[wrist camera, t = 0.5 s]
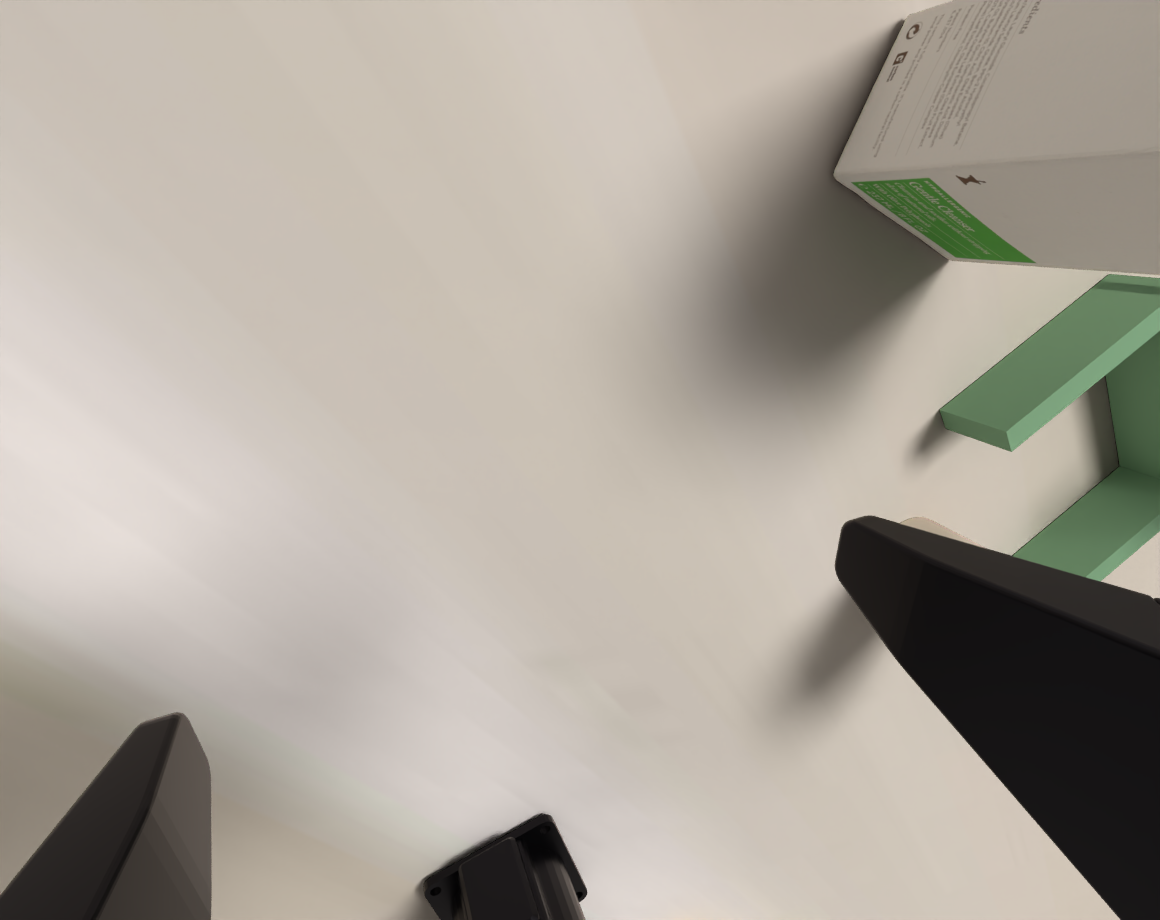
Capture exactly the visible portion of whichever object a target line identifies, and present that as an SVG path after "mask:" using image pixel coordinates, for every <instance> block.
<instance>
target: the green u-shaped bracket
mask: <svg viewBox="0 0 1160 920" xmlns="http://www.w3.org/2000/svg"><path fill="white" fill-rule="evenodd" d="M1104 376H1106V382H1107V388H1108V395H1109V401H1110V407H1111V414H1112V420H1113V426H1114V433H1115V439H1116V445H1117V452H1118V458H1119V464H1120V466H1119V467H1118V468H1117V469H1116V470H1115V471H1113V472H1112V473H1111V474H1110V475H1109V476H1107V477H1106V478H1105V479H1104V480H1103V481H1101V482H1100V483H1099V484H1098V485H1097V486H1095V487H1094V488H1093V489H1092V490H1091V491H1089V492H1088V493H1087V494H1086V495H1085V496H1084V497H1082V498H1081V499H1080V500H1079V501H1078V502H1076V503H1075V504H1074V505H1073V506H1072V507H1070V508H1069V509H1068V510H1067V511H1066V512H1064V513H1063V514H1062V515H1061V516H1060V517H1058V518H1057V519H1056V520H1055V521H1054V522H1052V523H1051V524H1050V525H1049V526H1048V527H1046V528H1045V529H1044V530H1043V531H1042V532H1040V533H1039V534H1038V535H1037V536H1036V537H1034V538H1033V539H1032V540H1031V541H1030V542H1028V543H1027V544H1026V545H1025V546H1024V547H1022V548H1021V549H1020V550H1019V551H1018V552H1016V553H1015V554H1014V555H1013V556H1014V557H1017V558H1021V559H1024V560H1028V561H1031V562H1035V563H1038V564H1042V565H1045V566H1048V567H1052V568H1055V569H1059V570H1062V571H1066V572H1069V573H1073V574H1076V575H1080V576H1083V577H1086V578H1090V579H1093V580H1097V581H1102V580H1103V579H1104V578H1105V577H1106V576H1107V575H1109V574H1110V573H1111V572H1112V571H1113V570H1114V569H1116V568H1117V567H1118V566H1119V565H1120V564H1122V563H1123V562H1124V561H1125V560H1126V559H1127V558H1129V557H1130V556H1131V555H1132V554H1133V553H1134V552H1136V551H1137V550H1138V549H1139V548H1140V547H1141V546H1143V545H1144V544H1145V543H1146V542H1147V541H1149V540H1150V539H1151V538H1152V537H1153V536H1154V535H1156V534H1157V533H1158V532H1159V531H1160V278H1151V277H1139V276H1127V275H1115V274H1109V275H1108V276H1106V277H1105V278H1104V279H1103V280H1101V281H1100V282H1099V283H1098V284H1096V285H1095V286H1094V287H1093V288H1091V289H1090V290H1089V291H1088V292H1086V293H1085V294H1084V295H1083V296H1081V297H1080V298H1079V299H1078V300H1076V301H1075V302H1074V303H1073V304H1071V305H1070V306H1069V307H1068V308H1066V309H1065V310H1064V311H1063V312H1061V313H1060V314H1059V315H1058V316H1056V317H1055V318H1054V319H1053V320H1051V321H1050V322H1049V323H1048V324H1046V325H1045V326H1044V327H1043V328H1041V329H1040V330H1039V331H1038V332H1036V333H1035V334H1034V335H1033V336H1031V337H1030V338H1029V339H1028V340H1026V341H1025V342H1024V343H1023V344H1021V345H1020V346H1019V347H1018V348H1016V349H1015V350H1014V351H1013V352H1011V353H1010V354H1009V355H1008V356H1006V357H1005V358H1004V359H1003V360H1001V361H1000V362H999V363H998V364H996V365H995V366H994V367H993V368H991V369H990V370H989V371H988V372H986V373H985V374H984V375H983V376H981V377H980V378H979V379H978V380H976V381H975V382H974V383H973V384H971V385H970V386H969V387H968V388H966V389H965V390H964V391H963V392H961V393H960V394H959V395H958V396H956V397H955V398H954V399H953V400H951V401H950V402H949V403H948V404H946V405H945V406H944V407H943V408H941V409H940V413H941V416H942V419H943V422H944V425H945V428H946V429H948V430H951V431H954V432H957V433H959V434H962V435H965V436H968V437H971V438H974V439H976V440H979V441H982V442H985V443H988V444H991V445H993V446H996V447H999V448H1002V449H1005V450H1008V451H1010V452H1012V451H1013V450H1014V449H1016V448H1017V447H1018V446H1019V445H1021V444H1022V443H1023V442H1024V441H1026V440H1027V439H1028V438H1029V437H1030V436H1032V435H1033V434H1034V433H1035V432H1037V431H1038V430H1039V429H1040V428H1041V427H1043V426H1044V425H1045V424H1046V423H1048V422H1049V421H1050V420H1051V419H1052V418H1054V417H1055V416H1056V415H1057V414H1059V413H1060V412H1061V411H1062V410H1063V409H1065V408H1066V407H1067V406H1068V405H1070V404H1071V403H1072V402H1073V401H1074V400H1076V399H1077V398H1078V397H1079V396H1081V395H1082V394H1083V393H1084V392H1085V391H1087V390H1088V389H1089V388H1090V387H1092V386H1093V385H1094V384H1095V383H1097V382H1098V381H1099V380H1100V379H1101V378H1103V377H1104Z"/></svg>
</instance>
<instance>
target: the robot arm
mask: <svg viewBox="0 0 1160 920" xmlns="http://www.w3.org/2000/svg"><path fill="white" fill-rule="evenodd" d="M835 571H836V574H837V577H838V579H839V581H840V582H841V584H842V585H843V586H844V588H845V589H846V591H847V592H848V593H849V595H850V596H851V598H852V599H853V600H854V602H855V603H856V605H857V606H858V607H859V609H860V610H861V612H862V613H863V614H864V616H865V617H866V619H867V620H868V621H869V623H870V624H871V626H872V627H873V628H874V630H875V631H876V633H877V634H878V635H879V637H880V638H881V640H882V641H883V642H884V644H885V645H886V647H887V648H888V649H889V651H890V652H891V653H892V655H893V656H894V657H895V659H896V660H897V661H898V662H899V664H900V665H901V666H902V667H903V669H904V670H905V671H906V672H907V673H908V675H909V676H910V677H911V678H912V679H913V680H914V681H915V683H916V684H917V685H918V686H919V687H920V688H921V690H922V691H923V692H924V693H925V694H926V695H927V697H928V698H929V699H930V700H931V701H932V702H933V703H934V705H935V706H936V707H937V708H938V709H939V710H940V712H941V713H942V714H943V715H944V716H945V717H946V718H947V720H948V721H949V722H950V723H951V724H952V725H953V727H954V728H955V729H956V730H957V731H958V732H959V734H960V735H961V736H962V737H963V738H964V739H965V740H966V742H967V743H968V744H969V745H970V746H971V747H972V749H973V750H974V751H975V752H976V753H977V754H978V755H979V757H980V758H981V759H982V760H983V761H984V762H985V764H986V765H987V766H988V767H989V768H990V769H991V770H992V772H993V773H994V774H995V775H996V776H997V777H998V779H999V780H1000V781H1001V782H1002V783H1003V784H1004V786H1005V787H1006V788H1007V789H1008V790H1009V791H1010V792H1011V794H1012V795H1013V796H1014V797H1015V798H1016V799H1017V801H1018V802H1019V803H1020V804H1021V805H1022V806H1023V807H1024V809H1025V810H1026V811H1027V812H1028V813H1029V814H1030V816H1031V817H1032V818H1033V819H1034V820H1035V821H1036V823H1037V824H1038V825H1039V826H1040V827H1041V828H1042V829H1043V831H1044V832H1045V833H1046V834H1047V835H1048V836H1049V838H1050V839H1051V840H1052V841H1053V842H1054V843H1055V844H1056V846H1057V847H1058V848H1059V849H1060V850H1061V851H1062V853H1063V854H1064V855H1065V856H1066V857H1067V858H1068V860H1069V861H1070V862H1071V863H1072V864H1073V865H1074V866H1075V868H1076V869H1077V870H1078V871H1079V872H1080V873H1081V875H1082V876H1083V877H1084V878H1085V879H1086V880H1087V881H1088V883H1089V884H1090V885H1091V886H1092V887H1093V888H1094V890H1095V891H1096V892H1097V893H1098V894H1099V895H1100V896H1101V898H1102V899H1103V900H1104V901H1105V902H1106V903H1107V905H1108V906H1109V907H1110V908H1111V909H1112V910H1113V912H1114V913H1115V914H1116V915H1117V916H1118V917H1119V918H1120V920H1160V598H1154V599H1153V598H1152V597H1150V596H1149V595H1145V594H1142V593H1138V592H1135V591H1132V590H1128V589H1125V588H1121V587H1118V586H1114V585H1111V584H1107V583H1104V582H1100V581H1097V580H1093V579H1090V578H1086V577H1083V576H1080V575H1076V574H1073V573H1069V572H1066V571H1062V570H1059V569H1055V568H1052V567H1048V566H1045V565H1042V564H1038V563H1035V562H1031V561H1028V560H1024V559H1021V558H1017V557H1014V556H1010V555H1007V554H1003V553H1000V552H997V551H993V550H990V549H986V548H983V547H979V546H976V545H972V544H969V543H965V542H962V541H959V540H955V539H952V538H948V537H945V536H941V535H938V534H934V533H931V532H927V531H924V530H920V529H917V528H914V527H910V526H907V525H903V524H900V523H896V522H893V521H889V520H886V519H882V518H879V517H875V516H863V517H859V518H856V519H852V520H849V521H847V522H846V523H845V524H844V525H843V527H842V529H841V533H840V539H839V544H838V549H837V555H836V560H835ZM423 887H424V894H425V897H426V899H427V900H428V902H429V903H430V905H431V906H432V908H433V909H434V911H435V912H436V914H437V915H438V916H439V918H440V919H441V920H585V917H584V915H583V912H582V909H581V907H580V904H579V902H580V901H582V900H583V899H584V898H585V897H586V895H587V889H586V886H585V884H584V882H583V880H582V878H581V876H580V873H579V871H578V869H577V867H576V865H575V863H574V861H573V859H572V857H571V855H570V853H569V851H568V849H567V847H566V845H565V843H564V841H563V839H562V836H561V834H560V832H559V830H558V828H557V826H556V824H555V822H554V820H553V818H552V817H551V816H550V815H542V816H539V817H537V818H536V819H534V820H532V821H530V822H528V823H527V824H525V825H523V826H521V827H520V828H518V829H516V830H514V831H512V832H511V833H509V834H507V835H505V836H503V837H502V838H500V839H498V840H496V841H494V842H493V843H491V844H489V845H487V846H485V847H484V848H482V849H480V850H478V851H476V852H475V853H473V854H471V855H469V856H468V857H466V858H464V859H462V860H460V861H459V862H457V863H455V864H453V865H451V866H450V867H448V868H446V869H444V870H442V871H441V872H439V873H437V874H435V875H433V876H432V877H430V878H429V879H427V880H426V881H425V883H424V886H423ZM0 920H211V774H210V767H209V763H208V760H207V757H206V755H205V753H204V751H203V749H202V746H201V744H200V742H199V740H198V738H197V736H196V734H195V732H194V730H193V728H192V726H191V724H190V721H189V720H188V718H187V717H186V716H185V715H184V714H183V713H178V712H176V713H172V714H168V715H165V716H161V717H158V718H154V719H151V720H147V721H145V722H143V723H141V724H140V725H138V726H137V727H136V728H135V729H134V730H133V732H132V733H131V734H130V735H129V737H128V738H127V739H126V740H125V742H124V743H123V744H122V745H121V747H120V748H119V749H118V750H117V751H116V753H115V754H114V755H113V756H112V758H111V759H110V760H109V761H108V763H107V764H106V765H105V766H104V768H103V769H102V770H101V771H100V772H99V774H98V775H97V776H96V777H95V779H94V780H93V781H92V782H91V784H90V785H89V786H88V787H87V789H86V790H85V791H84V792H83V793H82V795H81V796H80V797H79V798H78V800H77V801H76V802H75V803H74V805H73V806H72V807H71V808H70V810H69V811H68V812H67V813H66V814H65V816H64V817H63V818H62V819H61V821H60V822H59V823H58V824H57V826H56V827H55V828H54V829H53V831H52V832H51V833H50V834H49V835H48V837H47V838H46V839H45V840H44V842H43V843H42V844H41V845H40V847H39V848H38V849H37V850H36V852H35V853H34V854H33V855H32V857H31V858H30V859H29V860H28V861H27V863H26V864H25V865H24V866H23V868H22V869H21V870H20V871H19V873H18V874H17V875H16V876H15V878H14V879H13V880H12V881H11V882H10V884H9V885H8V886H7V887H6V889H5V890H4V891H3V892H2V894H1V895H0Z"/></svg>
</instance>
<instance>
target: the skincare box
mask: <svg viewBox="0 0 1160 920" xmlns="http://www.w3.org/2000/svg"><path fill="white" fill-rule="evenodd" d="M834 177H835V179H836V180H837V181H839V182H840V183H841V184H843V185H844V186H846V187H847V188H849V189H850V190H852V191H854V192H855V193H857V194H858V195H859V196H860V197H862V198H863V199H864V200H865V201H866V202H868V203H869V204H870V205H871V206H873V207H874V208H876V209H877V210H879V211H880V212H882V213H883V214H885V215H886V216H888V217H889V218H890V219H892V220H893V221H895V222H896V223H898V224H899V225H901V226H902V227H904V228H905V229H906V230H908V231H909V232H911V233H912V234H914V235H915V236H917V237H918V238H919V239H921V240H922V241H924V242H925V243H926V244H928V245H929V246H930V247H932V248H933V249H934V250H936V251H937V252H938V253H940V254H941V255H942V256H944V257H945V258H947V259H949V260H952V261H963V262H977V263H990V264H1007V265H1023V266H1036V267H1051V268H1066V269H1081V270H1096V271H1112V272H1125V273H1139V274H1153V275H1160V0H953V1H950V2H947V3H944V4H941V5H938V6H935V7H931V8H928V9H925V10H922V11H920V12H917V13H914V14H910V15H909V16H908V17H907V18H906V20H905V22H904V24H903V26H902V28H901V30H900V32H899V34H898V36H897V39H896V41H895V43H894V45H893V47H892V49H891V51H890V53H889V55H888V57H887V59H886V61H885V63H884V66H883V68H882V70H881V72H880V74H879V76H878V78H877V80H876V82H875V84H874V86H873V88H872V90H871V93H870V95H869V97H868V99H867V101H866V103H865V106H864V108H863V110H862V112H861V114H860V116H859V118H858V121H857V123H856V125H855V127H854V129H853V131H852V134H851V136H850V138H849V140H848V142H847V144H846V146H845V148H844V150H843V153H842V155H841V157H840V159H839V162H838V164H837V166H836V168H835V171H834Z"/></svg>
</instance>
